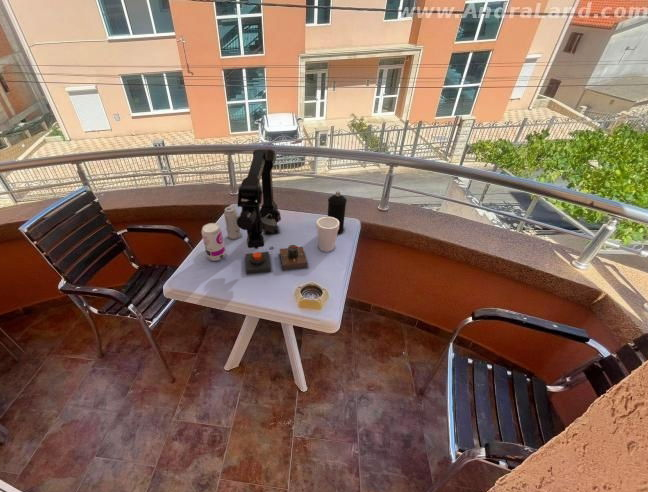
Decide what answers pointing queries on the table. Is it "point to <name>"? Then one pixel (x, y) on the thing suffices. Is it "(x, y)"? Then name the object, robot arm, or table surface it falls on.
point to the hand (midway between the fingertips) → (256, 248)
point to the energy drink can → (232, 222)
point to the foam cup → (327, 232)
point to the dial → (293, 251)
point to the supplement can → (213, 241)
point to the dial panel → (293, 259)
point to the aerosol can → (337, 209)
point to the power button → (257, 256)
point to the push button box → (258, 263)
